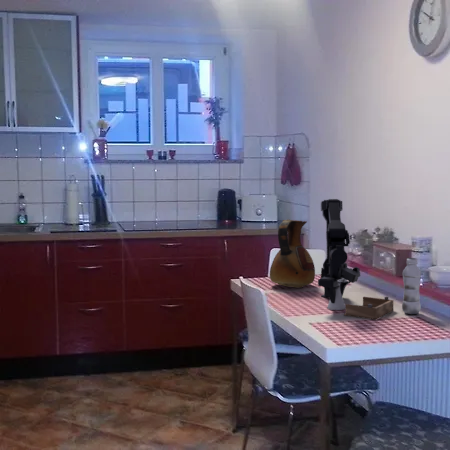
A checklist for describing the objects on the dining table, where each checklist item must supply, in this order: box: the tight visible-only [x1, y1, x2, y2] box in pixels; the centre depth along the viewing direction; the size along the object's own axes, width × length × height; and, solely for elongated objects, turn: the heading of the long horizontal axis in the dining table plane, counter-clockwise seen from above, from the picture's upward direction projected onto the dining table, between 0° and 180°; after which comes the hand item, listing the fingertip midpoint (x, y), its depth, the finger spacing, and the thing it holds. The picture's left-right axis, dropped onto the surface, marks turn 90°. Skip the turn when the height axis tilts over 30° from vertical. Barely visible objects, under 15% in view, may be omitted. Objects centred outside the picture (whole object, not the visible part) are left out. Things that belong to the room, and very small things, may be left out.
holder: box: [343, 296, 395, 321], centre depth 229 cm, size 16×12×5 cm
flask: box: [326, 282, 346, 311], centre depth 236 cm, size 7×7×10 cm
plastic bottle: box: [401, 257, 422, 315], centre depth 226 cm, size 6×7×20 cm
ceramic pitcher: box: [269, 218, 316, 289], centre depth 278 cm, size 20×20×30 cm
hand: (336, 301), depth 236 cm, fingers closed on flask, 5 cm apart
